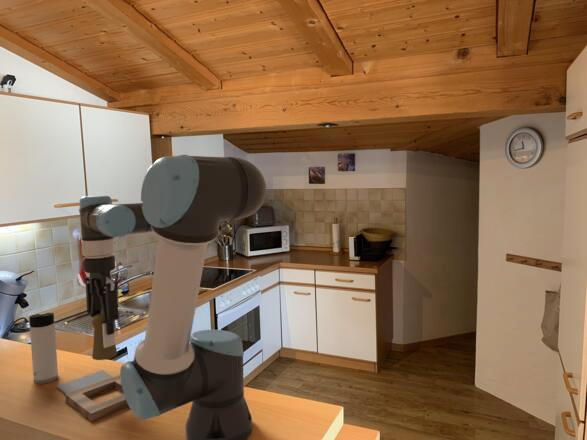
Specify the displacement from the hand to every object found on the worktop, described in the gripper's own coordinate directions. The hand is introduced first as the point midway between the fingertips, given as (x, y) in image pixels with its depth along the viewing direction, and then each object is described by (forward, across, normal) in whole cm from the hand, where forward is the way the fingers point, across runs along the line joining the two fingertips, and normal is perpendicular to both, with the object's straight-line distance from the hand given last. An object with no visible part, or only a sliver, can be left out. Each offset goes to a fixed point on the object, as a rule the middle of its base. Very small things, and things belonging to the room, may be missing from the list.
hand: (104, 343), depth 114 cm
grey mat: (+15, +13, 0) cm, 20 cm away
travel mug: (+15, +26, +6) cm, 31 cm away
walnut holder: (+16, 0, 0) cm, 16 cm away
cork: (+4, 0, 0) cm, 4 cm away
